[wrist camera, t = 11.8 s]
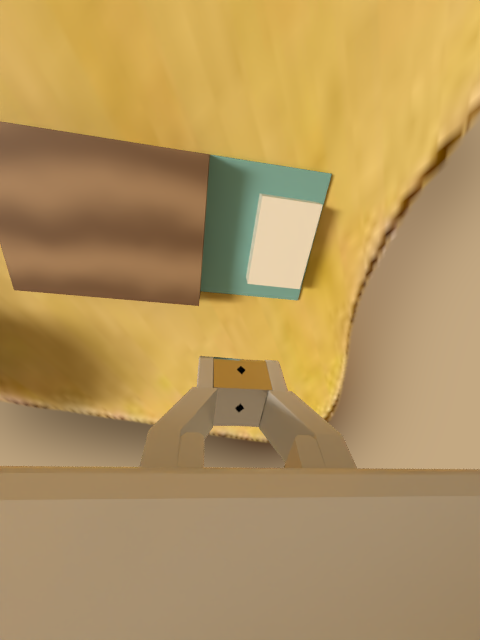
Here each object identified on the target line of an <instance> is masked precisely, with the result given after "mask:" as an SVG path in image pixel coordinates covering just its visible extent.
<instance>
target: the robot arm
mask: <svg viewBox="0 0 480 640" xmlns="http://www.w3.org/2000/svg"><path fill="white" fill-rule="evenodd" d="M213 426H252V427H259V429H260V430H261V431H262V433H263V434H264V435H265V437H266V438H267V439H268V441H269V442H270V443H271V445H272V446H273V447H274V449H275V450H276V451H277V453H278V454H279V455H280V457H281V458H282V459H283V461H284V462H285V466H284V468H204V439H205V438H206V437H207V435H208V434H209V432H210V431H211V429H212V428H213ZM0 640H480V469H357V467H356V465H355V463H354V460H353V458H352V456H351V454H350V452H349V449H348V447H347V445H346V442H345V440H344V438H343V436H342V435H341V434H340V433H339V432H338V431H337V430H336V429H335V428H333V427H332V426H331V425H330V424H329V423H328V422H326V421H325V420H324V419H323V418H322V417H321V416H319V415H318V414H317V413H316V412H315V411H314V410H313V409H311V408H310V407H309V406H308V405H307V404H306V403H304V402H303V401H302V400H301V399H300V398H299V397H298V396H296V395H295V394H294V393H293V392H292V391H288V390H287V387H286V383H285V380H284V377H283V374H282V370H281V367H280V364H279V362H278V361H272V360H265V361H263V360H244V359H232V358H220V357H205V356H200V357H199V367H198V379H197V387H192V388H191V389H190V390H189V391H188V392H187V393H186V394H185V395H184V396H183V397H182V398H181V399H180V400H179V401H178V402H177V403H176V404H175V405H174V406H173V407H172V408H171V409H170V410H169V411H168V412H167V413H166V414H165V415H164V416H163V417H162V418H161V419H160V420H159V421H158V422H157V423H156V424H155V425H154V426H152V428H151V429H149V431H148V435H147V439H146V443H145V447H144V452H143V455H142V459H141V463H140V467H44V466H36V467H35V466H29V467H28V466H0Z"/></svg>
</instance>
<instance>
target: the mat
mask: <svg viewBox="0 0 480 640" xmlns="http://www.w3.org/2000/svg"><path fill="white" fill-rule="evenodd" d="M331 175H332V174H329V173H323V172H317V171H310V170H304V169H298V168H291V167H285V166H279V165H272V164H266V163H260V162H253V161H247V160H241V159H234V158H228V157H222V156H215V155H210V162H209V176H208V190H207V205H206V219H205V233H204V247H203V262H202V276H201V290H200V291H203V292H214V293H225V294H236V295H247V296H258V297H269V298H279V299H290V300H298V298H299V294H300V290H301V287H300V289H292V288H283V287H273V286H264V285H254V284H248V283H247V279H246V274H247V268H248V262H249V256H250V250H251V243H252V237H253V231H254V225H255V219H256V213H257V207H258V201H259V195H260V193H261V194H267V195H274V196H281V197H287V198H294V199H301V200H307V201H314V202H318V203H320V204H322V205H323V204H324V201H325V197H326V193H327V190H328V186H329V182H330V178H331ZM322 208H323V206H322ZM321 212H322V210H321ZM320 216H321V214H320ZM319 219H320V217H319ZM318 223H319V221H318ZM317 227H318V224H317ZM316 231H317V228H316ZM315 234H316V232H315ZM314 238H315V235H314ZM313 242H314V239H313ZM312 245H313V243H312ZM311 249H312V246H311ZM310 253H311V250H310ZM309 257H310V254H309ZM309 257H308V260H309ZM307 264H308V261H307ZM306 268H307V265H306ZM306 268H305V271H306ZM304 275H305V272H304ZM303 279H304V276H303ZM303 279H302V283H303ZM302 283H301V286H302Z"/></svg>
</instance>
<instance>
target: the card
mask: <svg viewBox="0 0 480 640" xmlns="http://www.w3.org/2000/svg"><path fill="white" fill-rule="evenodd" d="M322 206H323V205H322V204H320V203H318V202H314V201H307V200H301V199H294V198H287V197H281V196H274V195H267V194H261V193H260V195H259V201H258V207H257V213H256V219H255V225H254V231H253V237H252V243H251V250H250V256H249V262H248V268H247V274H246V279H247V283H248V284H254V285H264V286H273V287H283V288H292V289H300V287H301V283H302V279H303V276H304V272H305V268H306V265H307V261H308V257H309V254H310V250H311V246H312V243H313V239H314V235H315V232H316V228H317V224H318V221H319V217H320V214H321V210H322Z"/></svg>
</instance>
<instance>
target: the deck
mask: <svg viewBox="0 0 480 640" xmlns="http://www.w3.org/2000/svg"><path fill="white" fill-rule="evenodd" d="M209 162H210V155H209V154H203V153H196V152H190V151H184V150H177V149H171V148H164V147H158V146H152V145H145V144H139V143H133V142H126V141H120V140H114V139H107V138H101V137H95V136H88V135H82V134H76V133H69V132H63V131H57V130H50V129H44V128H38V127H31V126H25V125H19V124H12V123H6V122H0V244H1V248H2V251H3V254H4V258H5V261H6V264H7V268H8V271H9V274H10V278H11V281H12V284H13V288H14V290H19V291H31V292H43V293H54V294H66V295H78V296H90V297H101V298H113V299H125V300H137V301H148V302H160V303H172V304H183V305H195V306H199V299H200V290H201V276H202V262H203V247H204V233H205V219H206V205H207V190H208V176H209Z"/></svg>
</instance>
